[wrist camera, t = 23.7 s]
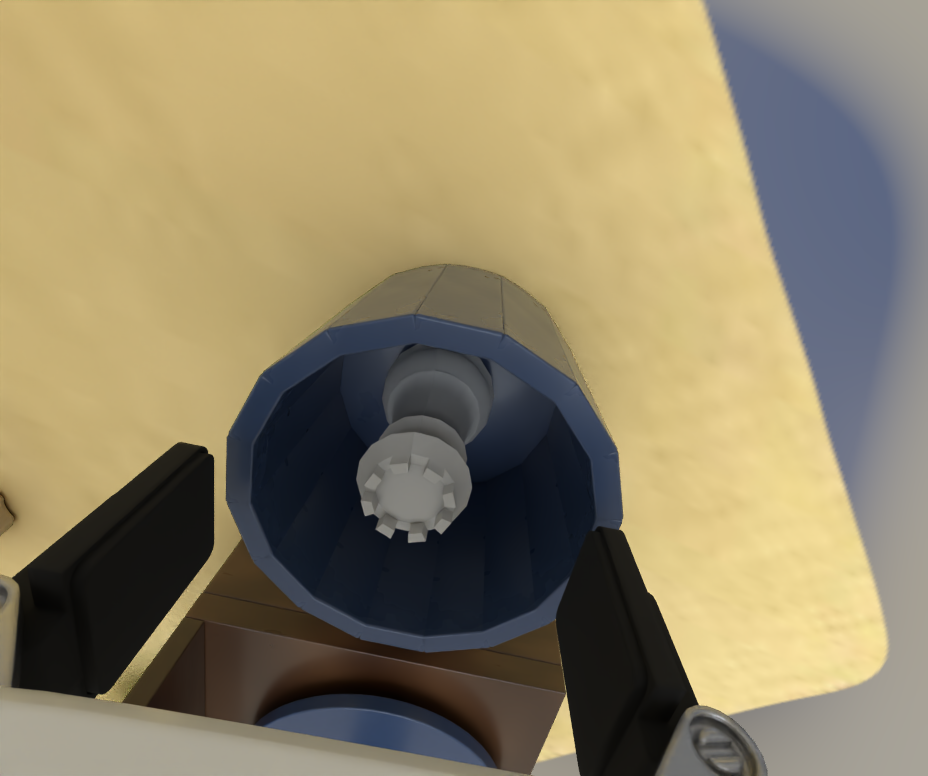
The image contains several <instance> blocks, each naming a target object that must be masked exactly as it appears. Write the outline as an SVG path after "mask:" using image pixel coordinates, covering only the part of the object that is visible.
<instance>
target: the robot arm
mask: <svg viewBox="0 0 928 776" xmlns="http://www.w3.org/2000/svg"><path fill="white" fill-rule="evenodd" d="M213 546H214V457H213V455H211V454H208V450H207V448H205V447H203V446H198V445H193V444H188V443H183V442H179V443H177V444H175V445H174V446H173V447H172V448H170V449H169V450H168V451H167V452H165V453H164V454H163V455H162V456H161V457H159V458H158V459H157V460H156V461H155V462H153V463H152V464H151V465H150V466H149V467H147V468H146V469H145V470H144V471H142V472H141V473H140V474H139V475H138V476H136V477H135V478H134V479H133V480H132V481H130V482H129V483H128V484H127V485H125V486H124V487H123V488H122V489H121V490H119V491H118V492H117V493H116V494H114V495H112V496H111V497H110V498H109V499H107V500H106V501H105V502H104V503H103V504H101V505H100V506H99V507H98V508H97V509H95V510H94V511H93V512H92V513H90V514H89V515H88V516H87V517H86V518H84V519H83V520H82V521H81V522H79V523H78V524H77V525H76V526H75V527H73V528H72V529H71V530H70V531H69V532H67V533H66V534H65V535H64V536H62V537H61V538H60V539H59V540H58V541H56V542H55V543H54V544H53V545H52V546H50V547H49V548H48V549H47V550H45V551H44V552H43V553H42V554H41V555H39V556H38V557H37V558H36V559H34V560H33V561H32V562H31V563H30V564H28V565H27V566H26V567H25V568H24V569H22V570H21V571H20V572H19V573H17V574H16V575H15V576H14V577H13V578H10V577H7V576H4V575H0V776H532V775H527V774H522V773H516V772H511V771H505V770H500V769H494V768H489V767H483V766H478V765H473V764H467V763H462V762H456V761H451V760H445V759H440V758H434V757H429V756H424V755H418V754H413V753H407V752H402V751H396V750H391V749H385V748H379V747H374V746H368V745H362V744H357V743H351V742H346V741H340V740H334V739H329V738H323V737H318V736H312V735H306V734H301V733H295V732H289V731H284V730H278V729H272V728H267V727H261V726H255V725H249V724H244V723H238V722H232V721H226V720H220V719H214V718H209V717H203V716H197V715H191V714H185V713H179V712H174V711H168V710H162V709H156V708H150V707H144V706H139V705H133V704H127V703H120V702H113V701H107V700H100V699H95V697H96V696H97V695H98V694H105V693H106V692H108V691H109V690H110V689H111V688H112V686H113V685H114V684H115V682H116V681H117V680H118V678H119V677H120V676H121V674H122V673H123V672H124V670H125V669H126V668H127V666H128V665H129V664H130V662H131V661H132V660H133V658H134V657H135V656H136V654H137V653H138V652H139V650H140V649H141V648H142V646H143V645H144V644H145V642H146V641H147V640H148V638H149V637H150V636H151V634H152V633H153V632H154V630H155V629H156V628H157V626H158V625H159V624H160V622H161V621H162V620H163V618H164V617H165V616H166V614H167V613H168V612H169V610H170V609H171V608H172V606H173V605H174V604H175V602H176V601H177V600H178V598H179V597H180V596H181V594H182V593H183V592H184V590H185V589H186V588H187V586H188V585H189V584H190V582H191V581H192V580H193V578H194V577H195V576H196V574H197V573H198V572H199V570H200V569H201V568H202V566H203V565H204V564H205V562H206V561H207V560H208V558H209V557H210V555H211V552H212V550H213ZM556 629H557V635H558V641H559V648H560V654H561V660H562V667H563V673H564V679H565V685H566V692H567V698H568V704H569V711H570V717H571V723H572V729H573V736H574V742H575V748H576V754H577V761H578V767H579V772H580V775H581V776H767V768H766V764H765V761H764V758H763V756H762V754H761V752H760V750H759V749H758V747H757V745H756V743H755V742H754V741H753V740H752V738H751V737H750V736H749V735H748V733H747V732H746V731H745V730H744V729H743V728H742V727H741V726H740V725H739V724H738V723H736V722H735V721H734V720H733V719H732V718H730V717H729V716H727V715H725V714H724V713H722V712H721V711H719V710H716V709H713V708H711V707H708V706H699V704H698V702H697V700H696V697H695V695H694V692H693V690H692V687H691V685H690V683H689V680H688V678H687V675H686V673H685V670H684V668H683V666H682V663H681V661H680V658H679V656H678V653H677V651H676V649H675V646H674V644H673V641H672V639H671V636H670V634H669V631H668V629H667V627H666V624H665V622H664V619H663V617H662V614H661V612H660V610H659V607H658V605H657V602H656V600H655V599H654V597H653V596H652V595H651V594H650V593H648V592H647V589H646V587H645V584H644V582H643V579H642V577H641V574H640V572H639V569H638V567H637V564H636V562H635V559H634V557H633V554H632V552H631V549H630V547H629V544H628V542H627V539H626V537H625V534H624V533H623V531H621V530H617V529H612V528H607V527H602V526H598V527H597V528H596V529H595V531H591V530H590V531H588V533H587V535H586V537H585V540H584V542H583V545H582V547H581V550H580V552H579V555H578V557H577V560H576V563H575V565H574V568H573V570H572V573H571V575H570V578H569V580H568V583H567V586H566V588H565V591H564V593H563V596H562V598H561V601H560V604H559V606H558V609H557V613H556Z"/></svg>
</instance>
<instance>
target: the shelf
mask: <svg viewBox="0 0 928 776" xmlns="http://www.w3.org/2000/svg"><path fill="white" fill-rule="evenodd" d="M329 694H363V695H373V696H380V697H386V698H391V699H395V700H399V701H403V702H407V703H410V704H413V705H416V706H419V707H422V708H425V709H427V710H429V711H432V712H434V713H436V714H438V715H441V716H443V717H444V718H446V719H448V720H450V721H451V722H453V723H455V724H456V725H458V726H459V727H461V728H462V729H463V730H465V731H466V732H468V733H469V734H470V735H471V736H472V737H474V738H475V739H476V740H477V741H478V742H479V743H480V744H481V745H482V746H483V747H484V749H485V750H486V751H487V752H488V754H489V755H490V756H491V758H492V760H493V761H494V763H495V765H496V767H497V769H500V770H505V771H511V772H516V773H522V774H527V775H530V774H531V772H532V769H533V768H534V765H535V763H536V761H537V758H538V756H539V754H540V752H541V749H542V747H543V745H544V743H545V740H546V738H547V736H548V733H549V731H550V729H551V727H552V724H553V722H554V720H555V718H556V715H557V713H558V711H559V708H560V706H561V704H562V702H563V699H564V697H565V695H566V690H565V683H564V676H563V669H562V664H561V657H560V650H559V642H558V635H557V629H556V621H555V620H554V621H553V622H550V624H548V625H545V626H543V627H540V628H538V629H535V630H533V631H530V632H528V633H525V634H523V635H521V636H518V637H516V638H513V639H511V640H508V641H506V642H503V643H501V644H499V645H496V646H494V647H489V648H479V649H466V650H454V651H441V652H429V653H426V652H425V651H424V652H419V651H414V650H409V649H405V648H400V647H395V646H390V645H385V644H380V643H375V642H370V641H365V640H361V639H360V638H355V637H354V636H352V635H350V634H348V633H346V632H344V631H342V630H340V629H338V628H336V627H335V626H333V625H331V624H329V623H327V622H325V621H323V620H321V619H319V618H317V617H315V616H314V615H312V614H310V613H308V612H306V611H304V610H302V609H301V608H300V607H297V606H296V605H295V604H294V603H293V602H292V601H291V600H290V599H289V598H288V597H287V596H286V595H285V594H284V593H283V592H282V591H281V590H280V589H279V588H278V587H277V586H276V585H275V584H274V583H273V582H272V581H271V580H270V579H269V578H268V577H267V576H266V574H265V573H264V572H263V571H262V570H261V569H260V568H259V567H258V566H257V565H256V564H255V563H254V562H253V560H252V559H251V556H250V554H249V552H248V550H247V547H246V545H245V543H244V541H243V538H242V539H241V541H240V542H239V543H238V545H237V546H236V548H235V549H234V550H233V552H232V553H231V554H230V556H229V557H228V559H227V560H226V561H225V563H224V564H223V565H222V567H221V568H220V569H219V571H218V572H217V574H216V575H215V576H214V578H213V579H212V580H211V582H210V583H209V585H208V586H207V587H206V589H205V590H204V592H203V593H202V594H201V595H200V596H199V598H198V599H197V600H196V602H195V603H194V604H193V606H192V607H191V609H190V610H189V611H188V613H187V614H186V615H185V618H183V620H182V621H181V623H180V624H179V625H178V627H177V628H176V629H175V631H174V632H173V633H172V635H171V636H170V638H169V639H168V640H167V642H166V643H165V644H164V646H163V647H162V648H161V650H160V651H159V653H158V654H157V655H156V657H155V658H154V659H153V661H152V662H151V664H150V665H149V666H148V668H147V669H146V670H145V672H144V673H143V674H142V676H141V677H140V679H139V680H138V681H137V683H136V684H135V685H134V687H133V688H132V690H131V691H130V692H129V694H128V695H127V696H126V698H125V699H124V700H123V702H122V703H127V704H133V705H139V706H144V707H150V708H156V709H162V710H168V711H174V712H179V713H185V714H191V715H197V716H203V717H209V718H214V719H220V720H226V721H232V722H238V723H244V724H249V725H255V724H256V723H257V722H258V721H259V720H260V719H261V718H262V717H264V716H265V715H267V714H268V713H269V712H271V711H273V710H275V709H277V708H279V707H281V706H283V705H285V704H288V703H291V702H294V701H296V700H300V699H304V698H309V697H313V696H320V695H329Z"/></svg>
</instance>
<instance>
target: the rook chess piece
mask: <svg viewBox="0 0 928 776" xmlns="http://www.w3.org/2000/svg"><path fill="white" fill-rule="evenodd" d="M493 398H494V393H493V386H492V379H491V375H490V374H489V372H488V371H487V369H486V367H485V366H484V364H483V363H482V361H481V359H480V358H479V357H476V356H471V355H467V354H462V353H458V352H453V351H449V350H444V349H439V348H435V347H430V346H426V345H421V344H417V345H415V346H413V347H411V348H410V349H408V350H406V351H404V352H403V353H401V354H400V355H399V357H398V358H397V359H396V361H395V362H394V364H393V365H392V366H391V368H390V369H389V372H388V376H387V378H386V380H385V385H384V391H383V396H382V402H383V406H384V410H385V415H386V419H387V422H388V423H389V424H390V425H389V426H388V427H387V429H386V430H385V431H384V433H383V434H382V435H381V437H380V438H379V441H377V442H376V443H374V444H372V445H371V446H370V448H369V449H368V450H367V452H366V453H365V454H364V455H363V457H362V458H361V459H360V462H359V467H358V473H357V478H356V480H357V484H358V488H359V491H360V495H361V498H362V499H361V504H362V508H363V511H364V515H365V516H368V515H371V514H374V515H376V516H377V517H378V518H379V521H378V523H377V526H376V530H377V531H379V532H380V533H382V534H384V535H385V536H387V537H389V538H390V539H391V537H392V535H393V533H394V531H395V528H397V529H401V530H406V531H409V533H408V543H412V542H424V541H426V538H427V533H428V530H432V529H436V530H437V531H438V532H439V533H440V534H442V533H443V532H444V531H445V530H446V528H447V527H448V526H449V525H450V524H451V523H452V521H453V520H454V519H455V518H456V517H457V516H458V515H459V514H460V513H461V512H462V511H463V510H464V508H465V507H466V506H467V503H468V500H469V497H470V493H471V490H472V484H471V478H470V472H469V468H468V466H467V465H466V461H467V456H466V450H465V445H466V444H468V443H470V442H472V441H473V439H474V438H475V437H476V436H477V435H478V434H479V432H480V431H481V430H482V429H483V428H484V427H485V425H486V424H487V421H488V417H489V414H490V411H491V407H492V401H493Z"/></svg>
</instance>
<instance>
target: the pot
mask: <svg viewBox="0 0 928 776" xmlns="http://www.w3.org/2000/svg"><path fill="white" fill-rule="evenodd" d="M417 344H421V345H426V346H430V347H435V348H439V349H444V350H449V351H453V352H458V353H462V354H467V355H471V356H476V357H479V358H480V359H481V361H482V363H483V364H484V366H485V367H486V369H487V371H488V372H489V374H490V375H491V379H492V386H493V393H494V398H493V401H492V407H491V411H490V414H489V417H488V421H487V424H486V425H485V427H484V428H483V429H482V430H481V431H480V432H479V434H478V435H477V436H476V437H475V438H474V439H473V441H472V442H470V443H468V444H466V445H465V450H466V456H467V461H466V465H467V466H468V468H469V472H470V478H471V484H472V490H471V493H470V497H469V500H468V503H467V506H466V507H465V508H464V510H463V511H462V512H461V513H460V514H459V515H458V516H457V517H456V518H455V519H454V520H453V521H452V523H451V524H450V525H449V526H448V527H447V528H446V530H445V531H444V532H443V533H442V534H440V533H439V532H438V531H437V530H436V529H432V530H428V533H427V538H426V541H424V542H412V543H408V533H409V531H406V530H401V529H397V528H395V531H394V533H393V535H392V537H391V539H390V538H389V537H387V536H385V535H384V534H382V533H380V532H379V531H377V530H376V526H377V523H378V521H379V518H378V517H377V516H376V515H374V514H371V515H368V516H365V515H364V511H363V508H362V504H361V499H362V498H361V495H360V491H359V488H358V484H357V480H356V478H357V473H358V467H359V462H360V459H361V458H362V457H363V455H364V454H365V453H366V452H367V450H368V449H369V448H370V446H371V445H372V444H374V443H376V442H377V441H379V438H380V437H381V435H382V434H383V433H384V431H385V430H386V429H387V427H388V426H389V425H390V424H389V423H388V422H387V419H386V415H385V410H384V406H383V402H382V396H383V391H384V385H385V380H386V378H387V376H388V372H389V369H390V368H391V366H392V365H393V364H394V362H395V361H396V359H397V358H398V357H399V355H400V354H401V353H403V352H404V351H406V350H408V349H410V348H411V347H413V346H415V345H417ZM226 501H227V505H228V507H229V509H230V511H231V514H232V516H233V518H234V520H235V523H236V525H237V527H238V529H239V532H240V534H241V536H242V538H243V541H244V543H245V545H246V547H247V550H248V552H249V554H250V556H251V559H252V560H253V562H254V563H255V564H256V565H257V566H258V567H259V568H260V569H261V570H262V571H263V572H264V573H265V574H266V576H267V577H268V578H269V579H270V580H271V581H272V582H273V583H274V584H275V585H276V586H277V587H278V588H279V589H280V590H281V591H282V592H283V593H284V594H285V595H286V596H287V597H288V598H289V599H290V600H291V601H292V602H293V603H294V604H295V605H296V606H297V607H300V608H301V609H302V610H304V611H306V612H308V613H310V614H312V615H314V616H315V617H317V618H319V619H321V620H323V621H325V622H327V623H329V624H331V625H333V626H335V627H336V628H338V629H340V630H342V631H344V632H346V633H348V634H350V635H352V636H354V637H355V638H360V639H361V640H365V641H370V642H375V643H380V644H385V645H390V646H395V647H400V648H405V649H409V650H414V651H419V652H424V651H425V652H426V653H429V652H441V651H454V650H466V649H479V648H489V647H494V646H496V645H499V644H501V643H503V642H506V641H508V640H511V639H513V638H516V637H518V636H521V635H523V634H525V633H528V632H530V631H533V630H535V629H538V628H540V627H543V626H545V625H548V624H550V622H553V621H554V620H555V619H556V613H557V609H558V606H559V604H560V601H561V598H562V596H563V593H564V591H565V588H566V586H567V583H568V580H569V578H570V575H571V573H572V570H573V568H574V565H575V563H576V560H577V557H578V555H579V552H580V550H581V547H582V545H583V542H584V540H585V537H586V535H587V533H588V531H590V530H591V531H595V529H596V528H597V527H598V526H602V527H607V528H612V529H617V530H619V528H620V526H621V523H622V519H623V507H622V494H621V481H620V468H619V455H618V451H617V447H616V445H615V443H614V441H613V439H612V437H611V435H610V432H609V430H608V428H607V426H606V424H605V422H604V420H603V418H602V416H601V413H600V411H599V409H598V407H597V405H596V403H595V401H594V399H593V397H592V394H591V392H590V390H589V388H588V386H587V384H586V382H585V380H584V378H583V376H582V373H581V371H580V369H579V367H578V365H577V363H576V361H575V359H574V357H573V354H572V352H571V350H570V348H569V347H568V345H567V343H566V342H565V340H564V338H563V337H562V335H561V333H560V332H559V330H558V328H557V326H556V324H555V323H554V321H553V320H552V318H551V316H550V315H549V313H548V311H547V310H546V308H544V306H543V305H541V304H540V303H539V302H537V301H536V300H535V299H534V298H533V297H532V296H530V295H529V294H528V293H527V292H526V291H524V290H523V289H522V288H520V287H519V286H517V285H515V284H514V283H512V282H510V281H509V280H507V279H505V278H504V277H502V276H501V277H500V276H499V275H496V274H494V273H491V272H488V271H484V270H481V269H478V268H473V267H467V266H461V265H451V264H448V265H447V264H443V265H433V266H424V267H419V268H416V269H412V270H408V271H405V272H400V273H396V274H394V275H392V276H390V277H389V278H387V279H386V280H384V281H383V282H381V283H380V284H378V285H377V286H375V287H374V288H373V289H371V290H370V291H368V292H367V293H365V294H364V295H362V296H361V297H359V298H358V299H357V300H355V301H354V302H352V303H351V304H350V305H348V306H347V307H346V308H345V309H343V310H342V311H341V312H339V313H338V314H337V315H336V316H334V317H333V318H332V319H330V320H329V321H328V322H327V323H325V324H324V325H323V326H321V327H320V328H319V329H317V330H316V331H315V332H314V333H312V334H311V335H310V336H308V337H307V338H306V339H305V340H303V341H302V342H301V343H299V344H298V345H297V346H295V347H294V348H293V349H292V350H290V351H289V352H288V353H286V354H285V355H284V356H283V357H281V358H280V359H279V360H277V361H276V362H275V363H273V364H272V365H271V366H270V367H268V368H267V369H266V370H264V372H263V373H262V374H261V375H260V376H259V378H258V380H257V382H256V383H255V385H254V387H253V389H252V391H251V392H250V394H249V396H248V398H247V400H246V402H245V403H244V405H243V407H242V409H241V411H240V413H239V414H238V416H237V418H236V420H235V422H234V424H233V425H232V427H231V429H230V431H229V434H228V436H227V456H226Z"/></svg>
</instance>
